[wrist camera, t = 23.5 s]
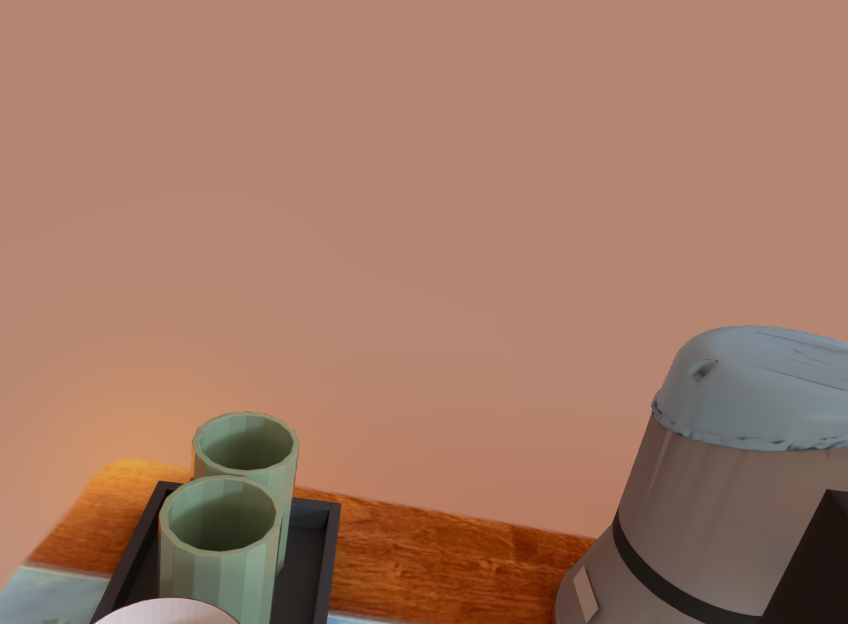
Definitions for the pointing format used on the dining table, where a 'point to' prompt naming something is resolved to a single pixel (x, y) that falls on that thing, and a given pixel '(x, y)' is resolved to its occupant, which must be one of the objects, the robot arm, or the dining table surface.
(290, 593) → the tray
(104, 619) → the mug
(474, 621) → the dining table surface
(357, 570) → the dining table surface
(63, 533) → the dining table surface
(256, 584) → the cup
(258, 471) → the cup
